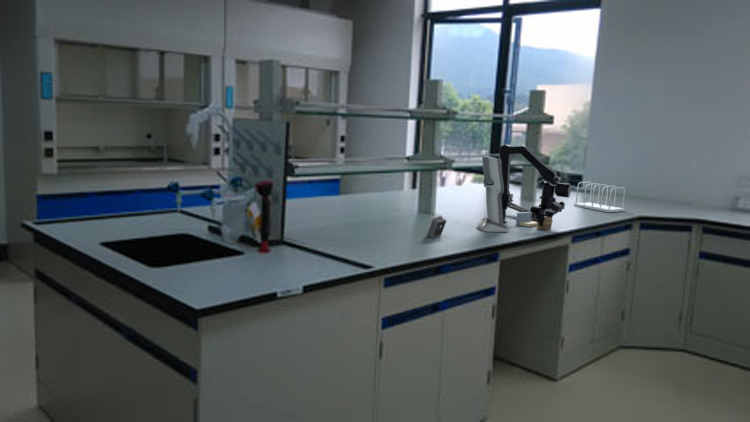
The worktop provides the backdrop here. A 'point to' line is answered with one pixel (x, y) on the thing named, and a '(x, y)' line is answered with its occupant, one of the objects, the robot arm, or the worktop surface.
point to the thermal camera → (493, 196)
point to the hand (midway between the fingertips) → (544, 226)
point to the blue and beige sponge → (525, 219)
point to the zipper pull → (520, 209)
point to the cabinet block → (545, 223)
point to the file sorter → (599, 206)
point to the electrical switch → (435, 227)
